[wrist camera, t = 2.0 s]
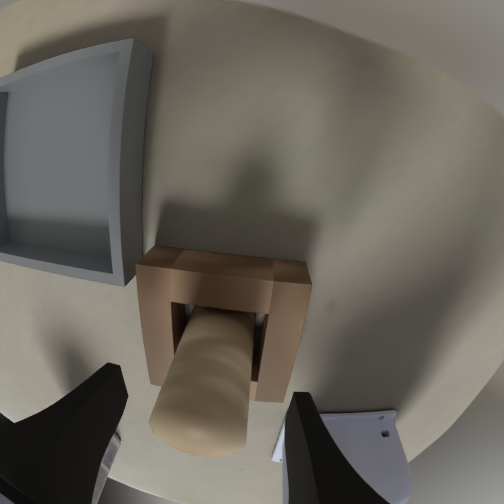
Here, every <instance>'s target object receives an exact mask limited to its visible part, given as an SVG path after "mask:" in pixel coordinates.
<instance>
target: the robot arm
mask: <svg viewBox="0 0 504 504" xmlns="http://www.w3.org/2000/svg"><path fill="white" fill-rule="evenodd" d="M127 399H128V393H127V389H126V386H125V382H124V379H123V375H122V371H121V367H120V365H116V364H112V363H106V364H105V365H104V366H103V367H101V368H100V369H99V370H98V371H96V372H95V373H94V374H93V375H92V376H90V377H89V378H88V379H87V380H85V381H84V382H83V383H82V384H80V385H79V386H78V387H77V388H75V389H74V390H73V391H71V392H70V393H69V394H67V395H66V396H64V397H63V398H61V399H60V400H59V401H57V402H56V403H54V404H53V405H51V406H49V407H48V408H46V409H44V410H42V411H41V412H39V413H37V414H35V415H32V416H30V417H28V418H26V419H23V420H21V421H19V422H16V423H13V424H10V425H7V426H4V427H0V504H92V498H93V493H94V488H95V484H96V480H97V476H98V472H99V469H100V465H101V462H102V459H103V456H104V454H105V451H106V449H107V447H108V445H109V443H110V441H111V438H112V436H113V434H114V432H115V430H116V428H117V426H118V424H119V421H120V419H121V417H122V415H123V412H124V409H125V406H126V402H127ZM396 416H397V412H396V411H395V410H388V411H377V412H363V413H341V414H319V412H318V410H317V408H316V406H315V403H314V401H313V399H312V396H311V394H310V393H309V392H294V393H293V396H292V399H291V403H290V406H289V409H288V412H287V415H286V417H285V419H284V422H283V425H282V428H281V431H280V434H279V437H278V440H277V443H276V446H275V449H274V451H273V454H272V461H274V462H282V495H283V504H406V502H407V501H408V498H409V496H410V491H411V473H410V469H409V465H408V462H407V459H406V456H405V452H404V449H403V446H402V443H401V440H400V437H399V434H398V431H397V428H396V426H395V423H394V419H395V417H396Z"/></svg>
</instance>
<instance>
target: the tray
mask: <svg viewBox="0 0 504 504" xmlns="http://www.w3.org/2000/svg"><path fill="white" fill-rule="evenodd" d="M153 57H154V52H153V51H151V50H150V49H149V48H147V47H146V46H145V45H143V44H142V43H140V42H139V41H137V40H136V39H135V38H131V39H125V40H120V41H114V42H109V43H104V44H100V45H95V46H91V47H87V48H83V49H79V50H76V51H72V52H69V53H65V54H62V55H59V56H56V57H53V58H50V59H47V60H44V61H41V62H38V63H35V64H33V65H30V66H28V67H25V68H23V69H20V70H18V71H15V72H13V73H11V74H8V75H6V76H4V77H2V78H0V261H4V262H8V263H12V264H16V265H20V266H24V267H28V268H33V269H37V270H42V271H46V272H51V273H55V274H60V275H65V276H70V277H75V278H80V279H85V280H90V281H95V282H100V283H106V284H111V285H117V286H123V287H125V286H126V285H127V284H128V283H129V282H130V280H131V279H132V278H133V277H134V276H135V275H136V265H135V264H136V263H137V262H138V261H139V260H140V259H141V258H142V257H143V245H142V171H143V150H144V135H145V122H146V111H147V102H148V93H149V85H150V77H151V70H152V63H153Z"/></svg>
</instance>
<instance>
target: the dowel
mask: <svg viewBox="0 0 504 504" xmlns="http://www.w3.org/2000/svg"><path fill="white" fill-rule="evenodd" d="M254 328H255V315H254V312H246V311H237V310H228V309H220V308H213V307H205V306H198V305H195V307H194V309H193V311H192V314H191V316H190V319H189V321H188V323H187V326H186V328H185V331H184V333H183V335H182V338H181V340H180V343H179V345H178V348H177V350H176V353H175V355H174V358H173V360H172V363H171V365H170V368H169V370H168V373H167V375H166V378H165V380H164V383H163V385H162V388H161V390H160V393H159V396H158V398H157V401H156V403H155V406H154V409H153V411H152V414H151V416H150V419H149V424H150V427H151V429H152V431H153V432H154V434H155V435H156V436H157V437H158V438H159V439H160V440H162V441H163V442H164V443H166V444H167V445H169V446H171V447H173V448H175V449H177V450H180V451H182V452H185V453H188V454H192V455H197V456H203V457H222V456H227V455H231V454H234V453H236V452H238V451H240V450H241V449H242V448H243V447H244V445H245V443H246V435H247V422H248V409H249V396H250V383H251V369H252V356H253V342H254Z"/></svg>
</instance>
